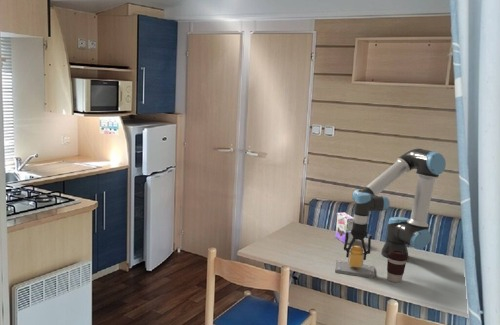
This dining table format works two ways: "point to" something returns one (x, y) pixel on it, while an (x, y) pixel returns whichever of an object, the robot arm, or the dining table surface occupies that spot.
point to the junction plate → (354, 269)
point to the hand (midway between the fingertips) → (355, 264)
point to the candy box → (343, 227)
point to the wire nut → (356, 256)
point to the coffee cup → (396, 265)
